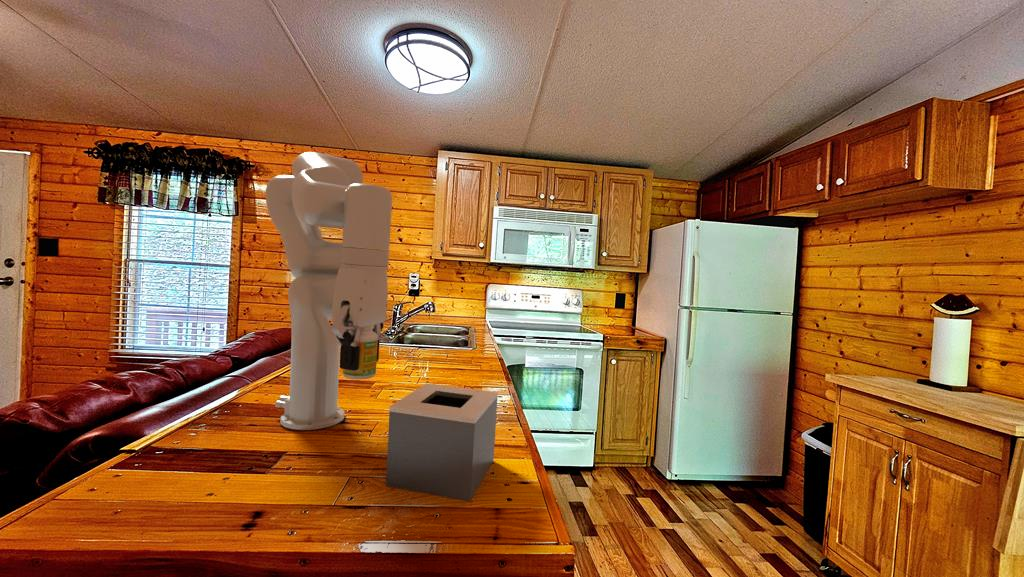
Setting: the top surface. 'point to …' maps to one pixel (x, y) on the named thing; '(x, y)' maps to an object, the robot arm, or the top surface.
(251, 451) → the top surface
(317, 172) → the robot arm
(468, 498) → the box
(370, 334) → the supplement bottle
